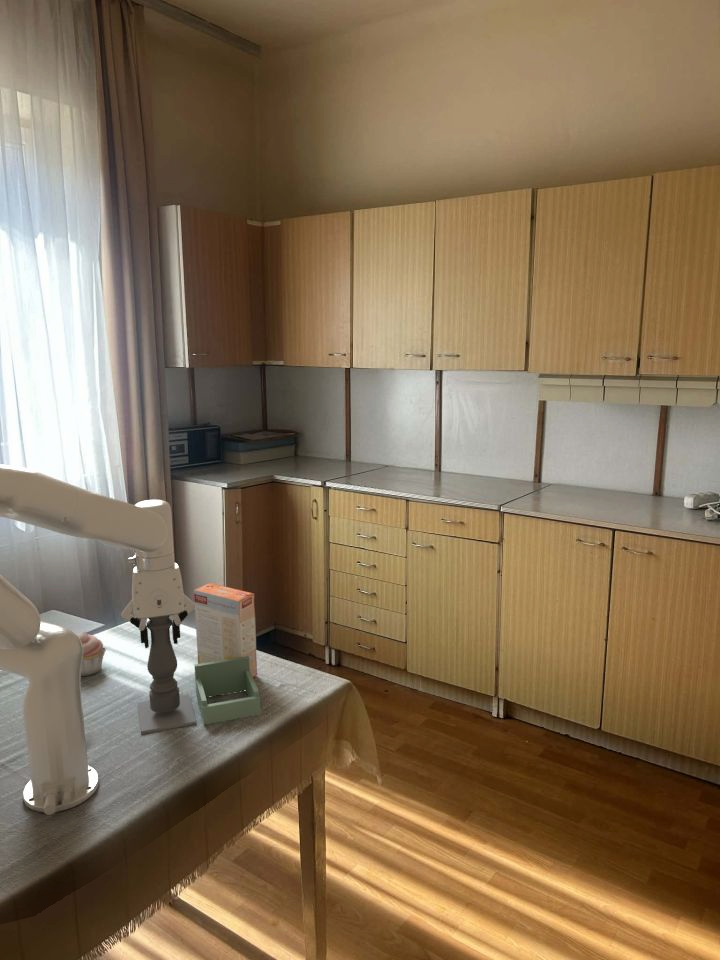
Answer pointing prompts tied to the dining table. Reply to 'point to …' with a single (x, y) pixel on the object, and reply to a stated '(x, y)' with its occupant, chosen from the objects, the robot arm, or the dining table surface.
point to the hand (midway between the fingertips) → (160, 642)
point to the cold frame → (226, 689)
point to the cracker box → (225, 624)
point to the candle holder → (162, 666)
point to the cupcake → (91, 654)
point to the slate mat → (166, 716)
